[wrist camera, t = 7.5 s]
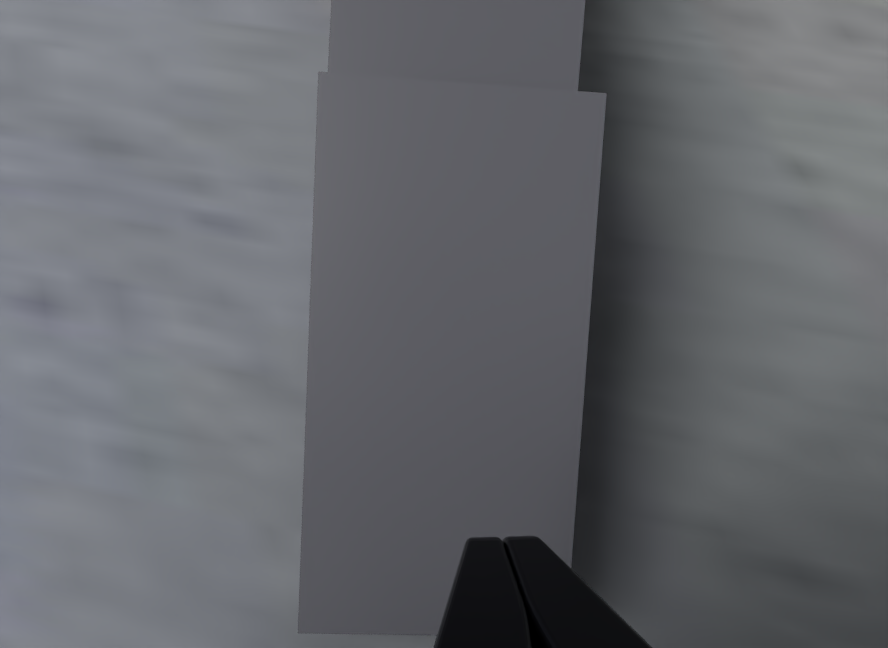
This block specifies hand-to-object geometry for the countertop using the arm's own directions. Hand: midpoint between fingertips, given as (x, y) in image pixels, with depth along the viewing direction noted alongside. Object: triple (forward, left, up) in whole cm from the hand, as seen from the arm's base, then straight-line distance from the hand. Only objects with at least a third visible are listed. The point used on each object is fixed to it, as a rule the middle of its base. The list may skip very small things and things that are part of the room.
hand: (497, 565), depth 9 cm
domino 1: (0, 0, -7) cm, 7 cm away
